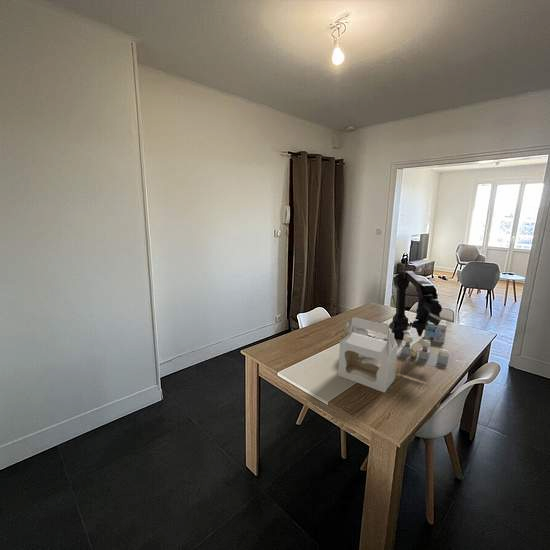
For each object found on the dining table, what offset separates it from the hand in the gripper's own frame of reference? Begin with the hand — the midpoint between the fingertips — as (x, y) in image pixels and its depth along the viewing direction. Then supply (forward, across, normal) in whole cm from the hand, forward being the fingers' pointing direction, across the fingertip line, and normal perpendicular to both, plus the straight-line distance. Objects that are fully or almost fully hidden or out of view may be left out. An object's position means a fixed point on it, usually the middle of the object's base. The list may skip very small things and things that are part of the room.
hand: (419, 336), depth 154 cm
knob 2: (+10, -1, -12) cm, 16 cm away
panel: (+12, -1, -3) cm, 12 cm away
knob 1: (+8, 0, +5) cm, 9 cm away
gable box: (+12, -36, +15) cm, 41 cm away
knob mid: (+7, -1, -3) cm, 8 cm away
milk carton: (+12, -16, +26) cm, 33 cm away
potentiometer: (+11, -4, +1) cm, 12 cm away
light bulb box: (+13, +31, -4) cm, 34 cm away
